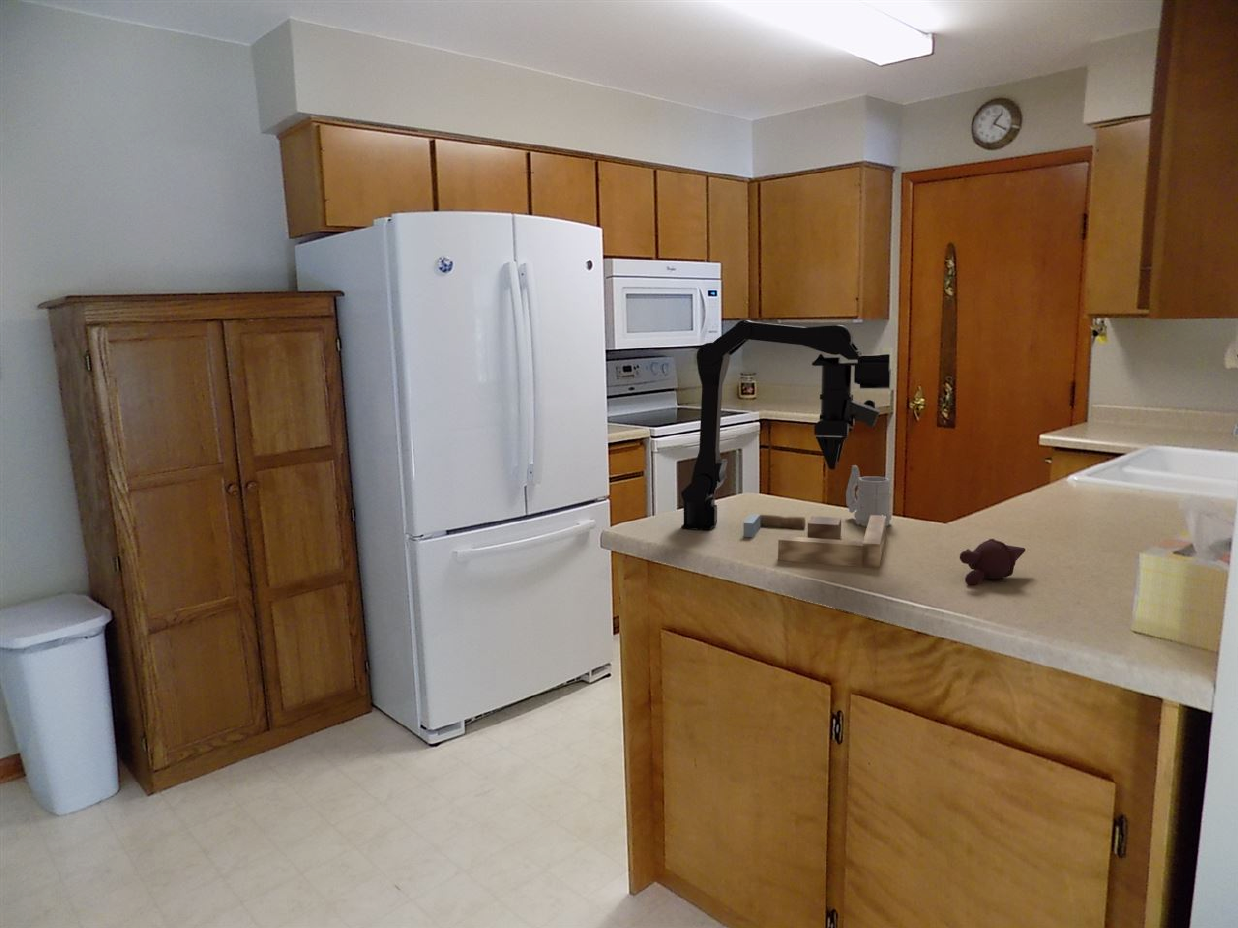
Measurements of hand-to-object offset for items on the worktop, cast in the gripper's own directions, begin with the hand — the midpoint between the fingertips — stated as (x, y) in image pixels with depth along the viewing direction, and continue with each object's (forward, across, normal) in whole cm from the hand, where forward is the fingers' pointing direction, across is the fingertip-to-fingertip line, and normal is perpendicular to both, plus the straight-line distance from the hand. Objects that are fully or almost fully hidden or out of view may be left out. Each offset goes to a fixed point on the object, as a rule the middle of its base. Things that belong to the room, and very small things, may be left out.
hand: (834, 465), depth 165 cm
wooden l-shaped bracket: (+15, -9, -1) cm, 18 cm away
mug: (+15, +14, -6) cm, 21 cm away
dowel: (+15, +5, +11) cm, 19 cm away
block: (+15, -3, +1) cm, 15 cm away
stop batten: (+15, -2, +16) cm, 22 cm away
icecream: (+15, -21, -29) cm, 39 cm away
